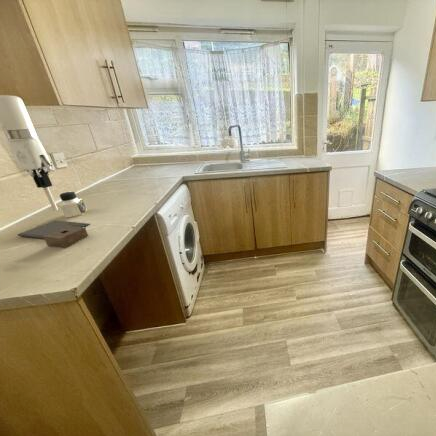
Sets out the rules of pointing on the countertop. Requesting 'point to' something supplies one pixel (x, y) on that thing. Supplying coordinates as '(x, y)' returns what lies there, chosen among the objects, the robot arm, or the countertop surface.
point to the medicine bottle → (72, 204)
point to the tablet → (49, 228)
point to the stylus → (50, 198)
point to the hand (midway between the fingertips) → (45, 186)
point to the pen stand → (65, 236)
